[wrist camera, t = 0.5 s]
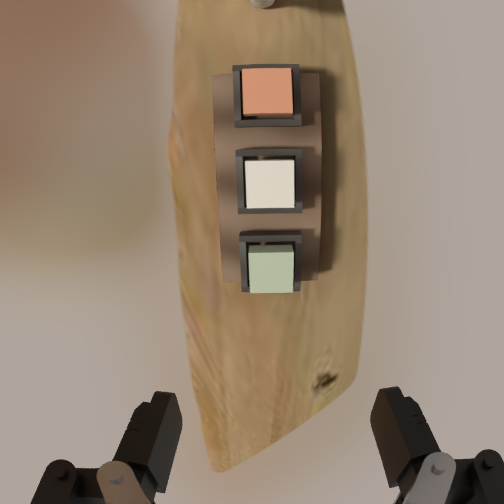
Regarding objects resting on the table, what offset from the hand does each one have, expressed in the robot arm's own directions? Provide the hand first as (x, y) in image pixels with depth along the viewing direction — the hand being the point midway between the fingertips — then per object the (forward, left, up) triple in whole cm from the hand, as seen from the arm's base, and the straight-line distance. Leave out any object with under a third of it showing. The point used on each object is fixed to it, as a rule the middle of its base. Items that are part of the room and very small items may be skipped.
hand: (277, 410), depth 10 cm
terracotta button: (-14, 0, -19) cm, 24 cm away
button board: (-6, 0, -23) cm, 24 cm away
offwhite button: (-6, 0, -19) cm, 20 cm away
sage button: (+2, 0, -19) cm, 19 cm away
